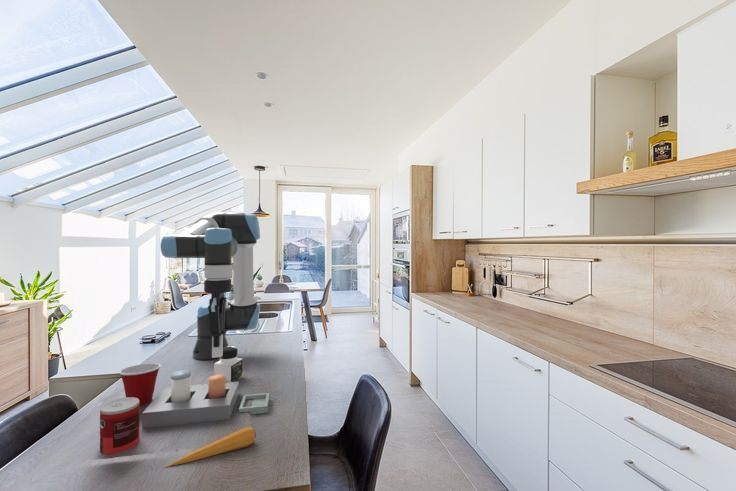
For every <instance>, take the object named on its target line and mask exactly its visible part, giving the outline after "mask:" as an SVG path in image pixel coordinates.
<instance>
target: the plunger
mask: <svg viewBox="0 0 736 491" xmlns="http://www.w3.org/2000/svg"><path fill="white" fill-rule="evenodd" d="M207 381H208V383H207V384H208V399H215V398H225V397H226V383H227V382H226V376H225V375H222V374H219V375H214V374H213V375H211V376H209V377H208V380H207Z"/></svg>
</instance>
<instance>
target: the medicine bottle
mask: <svg viewBox="0 0 736 491" xmlns="http://www.w3.org/2000/svg"><path fill="white" fill-rule="evenodd" d="M219 374H222V375H225V376H226V383H229V382H235V381H237V380H239V379H241V378H242V377H243V358H239V357H238V348H237V346H232V345H231V346H230V345H229V346H227V347H224V348H223V356H222V357H220V358H219V360H218V361H216V362H215V363H214V364H213V375H219Z"/></svg>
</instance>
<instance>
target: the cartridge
mask: <svg viewBox="0 0 736 491" xmlns="http://www.w3.org/2000/svg"><path fill="white" fill-rule="evenodd" d="M191 375H192V371H191V370H189V369H185V370H184V369H181V370H178V371H174V372H172V373H171V374H170V379H171V382H170V385H171V386H170V387H171V403H173V402H184V401H190V393H191V381H192V380H191V378H192V377H191Z"/></svg>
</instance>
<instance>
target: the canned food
mask: <svg viewBox="0 0 736 491" xmlns="http://www.w3.org/2000/svg"><path fill="white" fill-rule="evenodd" d="M140 409H141V406H140V402H139V399H138V398H134V397H126V396H125V397H121V398H117V399H113V400H110V401H108V402H106V403H104V404H103V405H102V406H101V407H100V410H99V452H100V453H101V454H104V455H115V454H121V453H123V452H126V451H128V450H130V449H132V448H133V447H135V446H136V445H138V443H139V442H140V422H141V421H140V419H141V418H140V416H141V415H140V414H141V413H140V411H141V410H140ZM108 458H111V456H109V457H108Z"/></svg>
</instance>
